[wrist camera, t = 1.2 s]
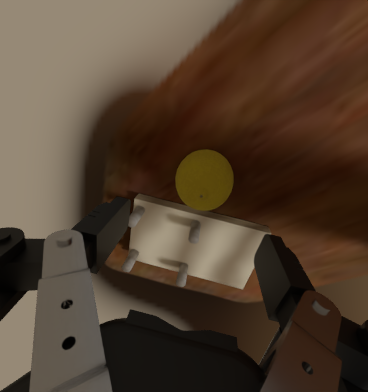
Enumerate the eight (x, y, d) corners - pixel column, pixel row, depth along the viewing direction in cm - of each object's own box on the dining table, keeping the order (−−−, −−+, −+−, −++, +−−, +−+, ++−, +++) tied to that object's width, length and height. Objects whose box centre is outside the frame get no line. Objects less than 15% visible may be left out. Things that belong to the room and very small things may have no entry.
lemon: (194, 134, 21) (184, 149, 14) (239, 156, 21) (252, 182, 14) (174, 177, 23) (157, 208, 16) (215, 196, 24) (216, 236, 17)
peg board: (268, 226, 24) (278, 250, 20) (241, 280, 29) (245, 309, 25) (138, 193, 25) (124, 210, 21) (132, 251, 30) (118, 274, 26)
